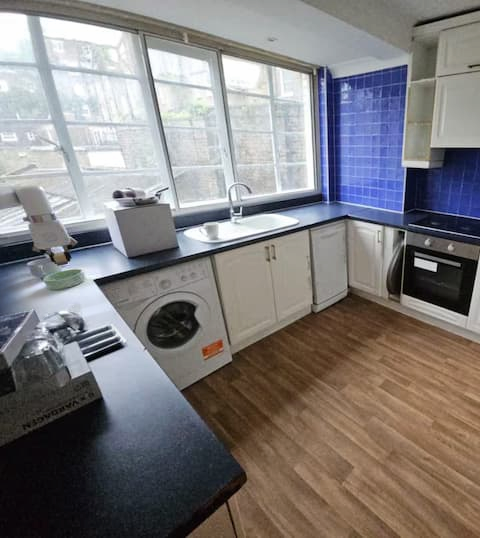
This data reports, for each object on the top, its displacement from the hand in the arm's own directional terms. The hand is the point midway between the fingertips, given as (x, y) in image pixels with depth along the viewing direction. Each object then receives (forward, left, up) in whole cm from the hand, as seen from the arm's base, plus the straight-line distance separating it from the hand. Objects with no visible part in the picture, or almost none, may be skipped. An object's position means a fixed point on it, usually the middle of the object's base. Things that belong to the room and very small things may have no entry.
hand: (62, 261), depth 122 cm
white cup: (-9, +46, -14) cm, 49 cm away
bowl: (-4, +12, -14) cm, 19 cm away
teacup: (-12, +29, -14) cm, 34 cm away
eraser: (0, 0, -1) cm, 1 cm away
